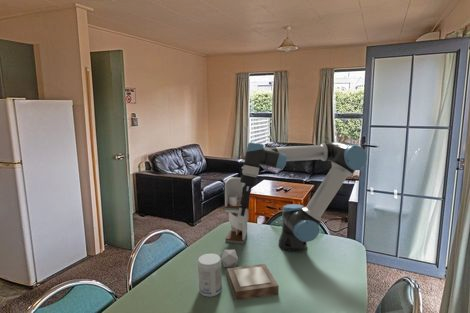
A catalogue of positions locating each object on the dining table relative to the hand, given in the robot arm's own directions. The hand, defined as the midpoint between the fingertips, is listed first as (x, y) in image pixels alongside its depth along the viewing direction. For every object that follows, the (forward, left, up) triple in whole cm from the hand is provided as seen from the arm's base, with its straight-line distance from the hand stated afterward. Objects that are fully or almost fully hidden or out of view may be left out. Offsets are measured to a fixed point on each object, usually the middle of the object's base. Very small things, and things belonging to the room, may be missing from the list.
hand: (240, 220), depth 143 cm
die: (+4, -5, -25) cm, 26 cm away
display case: (-6, -34, -25) cm, 42 cm away
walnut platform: (-2, +13, -24) cm, 28 cm away
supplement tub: (+16, +13, -25) cm, 32 cm away
